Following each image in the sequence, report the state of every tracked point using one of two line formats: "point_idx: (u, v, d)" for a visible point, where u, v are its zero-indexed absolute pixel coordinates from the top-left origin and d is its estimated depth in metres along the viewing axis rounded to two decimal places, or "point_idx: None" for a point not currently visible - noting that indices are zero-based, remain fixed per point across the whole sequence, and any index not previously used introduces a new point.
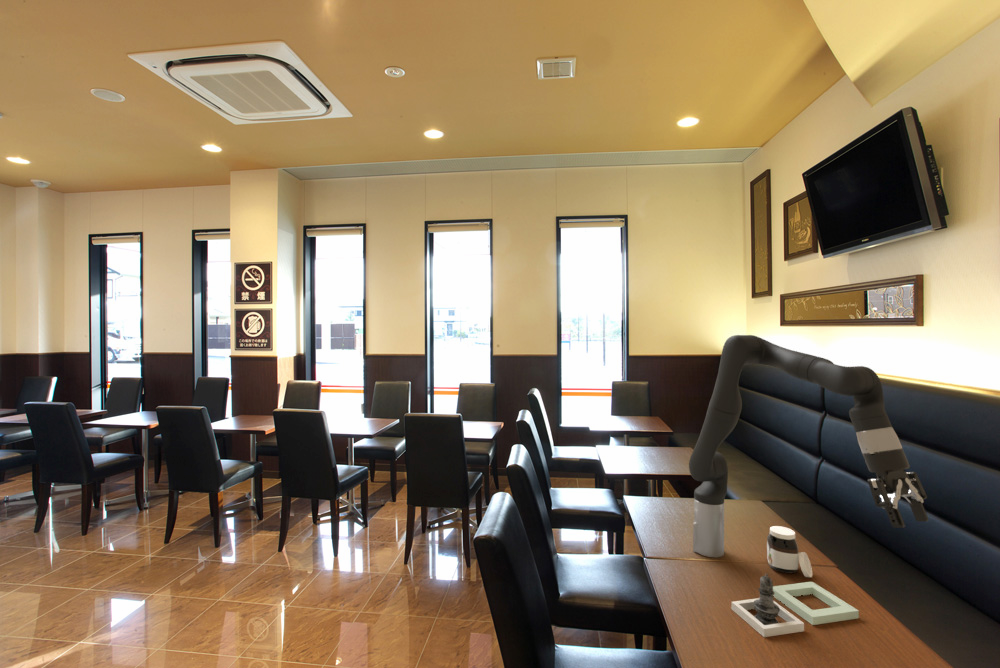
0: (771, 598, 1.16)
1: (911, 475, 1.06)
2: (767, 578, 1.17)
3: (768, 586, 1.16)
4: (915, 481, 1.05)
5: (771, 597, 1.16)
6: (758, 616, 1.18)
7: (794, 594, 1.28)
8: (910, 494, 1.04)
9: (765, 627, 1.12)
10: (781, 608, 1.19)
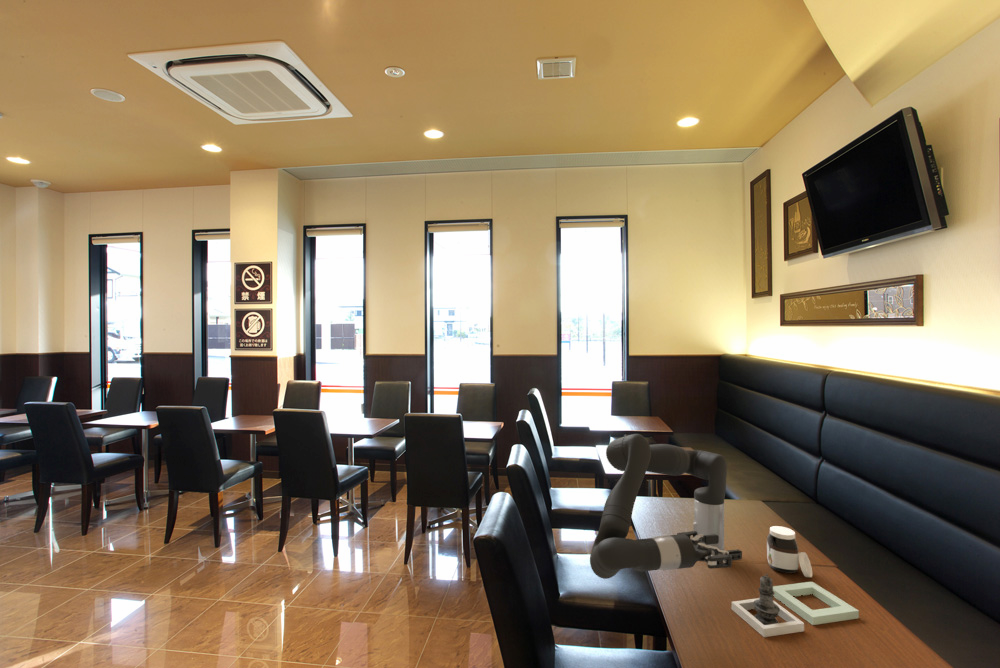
0: (771, 598, 1.16)
1: None
2: (767, 578, 1.17)
3: (768, 586, 1.16)
4: None
5: (771, 597, 1.16)
6: (758, 616, 1.18)
7: (794, 594, 1.28)
8: None
9: (765, 627, 1.12)
10: (781, 608, 1.19)
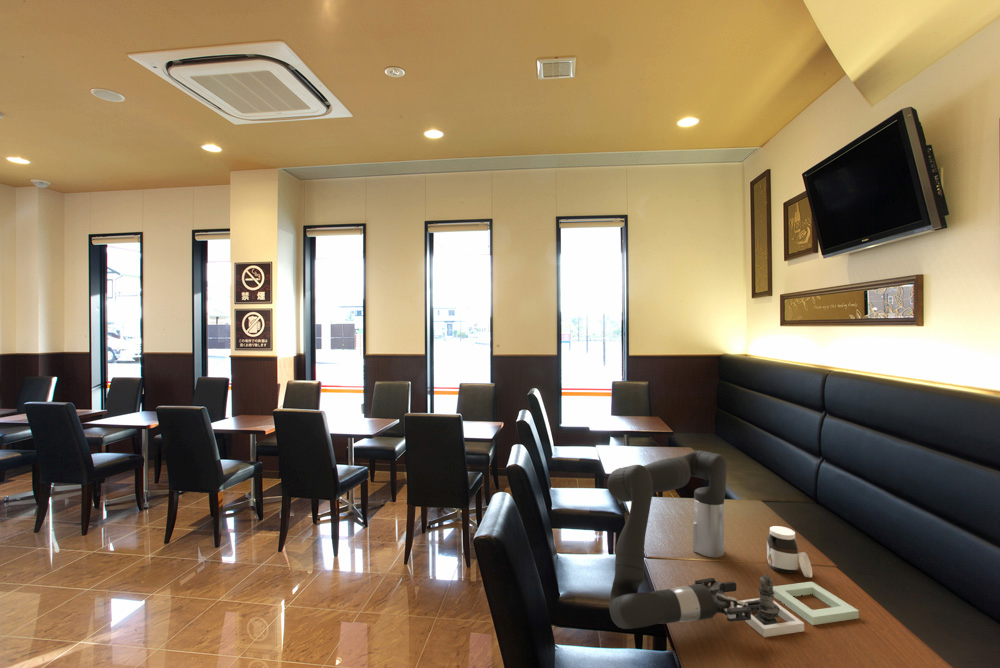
0: (771, 598, 1.16)
1: None
2: (767, 578, 1.17)
3: (768, 586, 1.16)
4: None
5: (771, 597, 1.16)
6: (758, 616, 1.18)
7: (794, 594, 1.28)
8: None
9: (765, 627, 1.12)
10: (781, 608, 1.19)
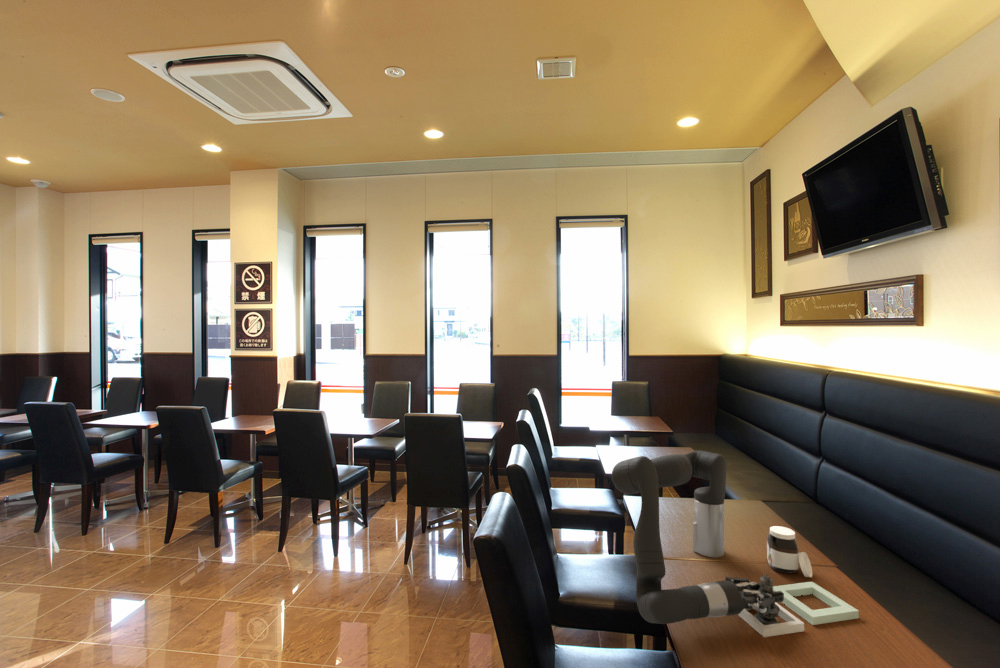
0: None
1: None
2: (767, 578, 1.17)
3: (768, 586, 1.16)
4: None
5: None
6: (758, 616, 1.18)
7: (794, 594, 1.28)
8: None
9: (765, 627, 1.12)
10: (781, 608, 1.19)
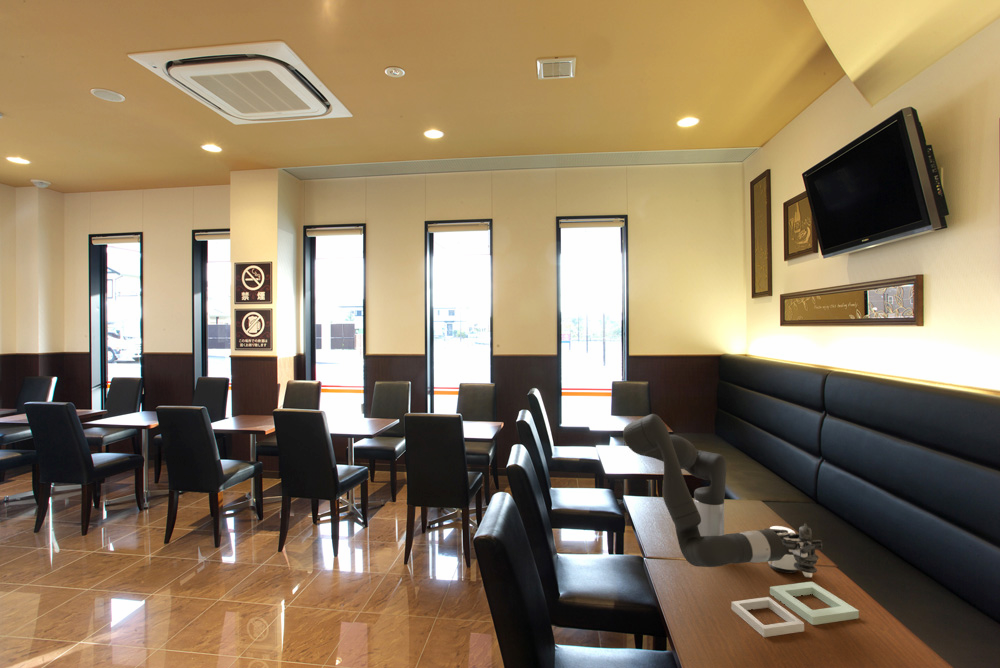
0: None
1: None
2: (806, 527, 1.22)
3: (807, 535, 1.21)
4: None
5: None
6: (797, 564, 1.23)
7: (794, 594, 1.28)
8: None
9: (765, 627, 1.12)
10: (781, 608, 1.19)
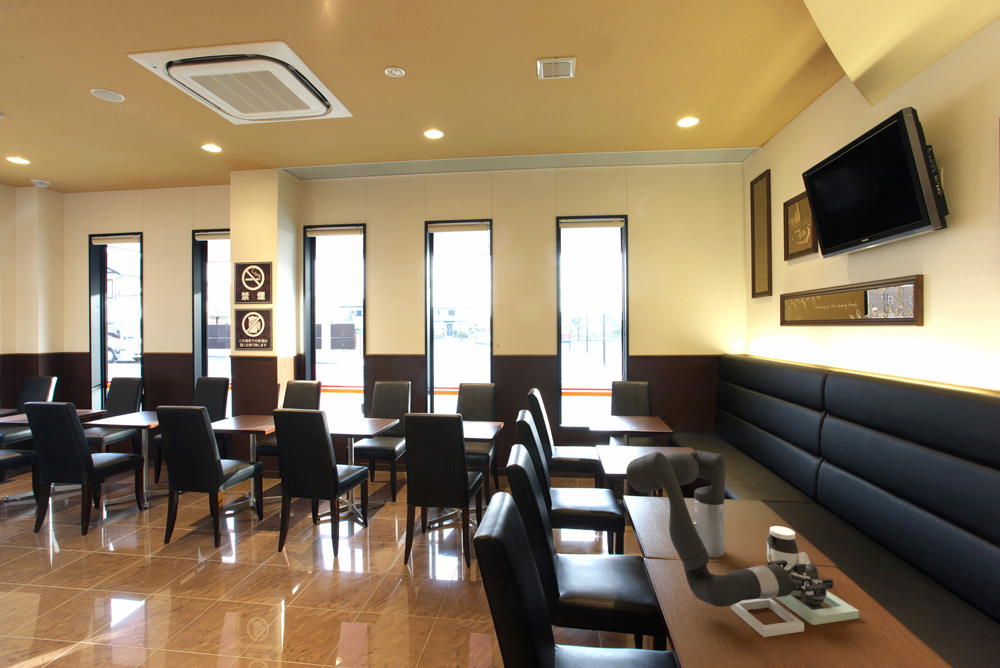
0: None
1: None
2: (813, 566, 1.23)
3: (814, 573, 1.22)
4: None
5: None
6: (804, 602, 1.24)
7: (794, 594, 1.28)
8: None
9: (765, 627, 1.12)
10: (781, 608, 1.19)
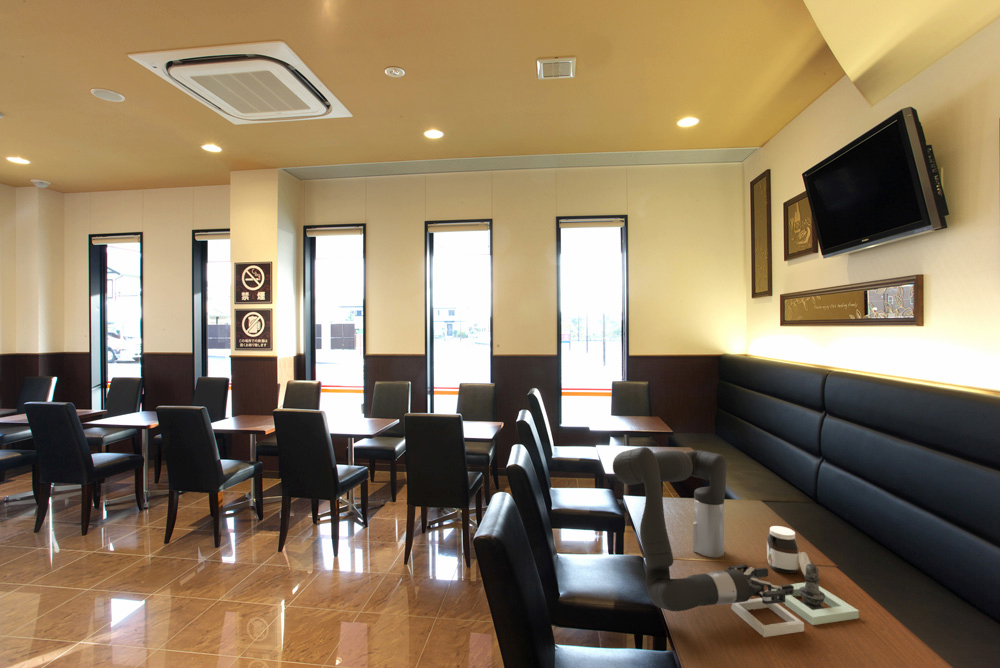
0: (817, 585, 1.22)
1: None
2: (813, 566, 1.23)
3: (814, 573, 1.22)
4: None
5: (817, 584, 1.22)
6: (804, 602, 1.24)
7: (794, 594, 1.28)
8: None
9: (765, 627, 1.12)
10: (781, 608, 1.19)
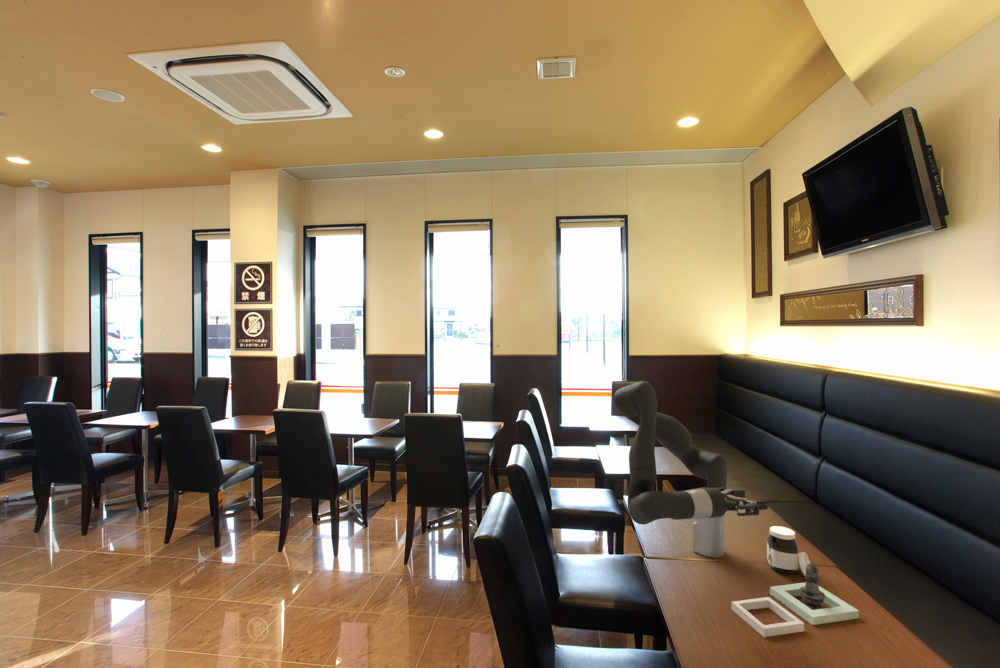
0: (817, 585, 1.22)
1: None
2: (813, 566, 1.23)
3: (814, 573, 1.22)
4: None
5: (817, 584, 1.22)
6: (804, 602, 1.24)
7: (794, 594, 1.28)
8: None
9: (765, 627, 1.12)
10: (781, 608, 1.19)
